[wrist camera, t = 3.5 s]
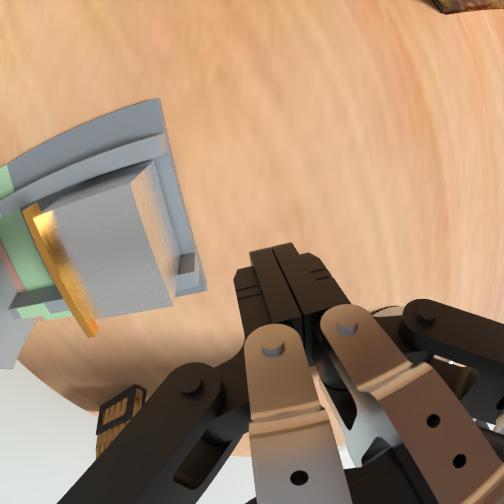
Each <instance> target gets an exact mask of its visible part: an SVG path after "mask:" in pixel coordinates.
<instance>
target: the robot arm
mask: <svg viewBox="0 0 504 504" xmlns="http://www.w3.org/2000/svg"><path fill="white" fill-rule="evenodd" d="M249 255H250V260H251V265H252V266H250V267H246V268H242V269H238V270H237V272H236V275H235V277H234V279H233V280H234V285H235V290H236V295H237V300H238V305H239V310H240V315H241V319H242V324H243V329H244V334H245V340H244V344H243V346H242V348H241V350H240V351H239V352H238V353H237V354H236V355H235V356H234V357H233V358H232V359H230V360H228V361H227V362H225V363H223V364H221V365H219V366H217V367H215V368H212V367H211V366H209V365H207V364H204V363H188V364H184V365H182V366H180V367H178V368H176V369H175V370H174V371H172V372H171V373H170V374H169V376H168V377H167V378H166V379H165V380H164V381H163V383H162V384H161V385H160V386H159V387H158V389H157V390H156V391H155V392H154V393H153V394H152V396H151V397H150V398H149V399H148V400H147V401H146V403H145V404H144V405H143V406H142V407H141V409H140V410H139V411H138V412H137V413H136V414H135V416H134V417H133V418H132V419H131V420H130V421H129V422H128V424H127V425H126V426H125V427H124V428H123V429H122V431H121V432H120V433H119V434H118V435H117V436H116V438H115V439H114V440H113V441H112V442H111V443H110V444H109V446H108V447H107V448H106V449H105V450H104V451H103V452H102V454H101V455H100V456H99V457H98V458H97V459H96V460H95V462H94V463H93V464H92V465H91V466H90V467H89V468H88V469H87V471H86V472H85V473H84V474H83V475H82V476H81V477H80V478H79V480H78V481H77V482H76V483H75V484H74V485H73V486H72V487H71V488H70V490H69V491H68V492H67V493H66V494H65V495H64V496H63V497H62V499H61V500H60V501H59V502H58V503H57V504H196V502H197V501H198V500H199V498H200V497H201V496H202V494H203V493H204V492H205V490H206V489H207V488H208V486H209V485H210V483H211V482H212V481H213V479H214V478H215V476H216V475H217V473H218V472H219V471H220V469H221V468H222V466H223V465H224V464H225V462H226V461H227V459H228V458H229V456H230V455H231V453H232V452H233V450H234V449H235V447H236V446H237V444H238V442H239V441H240V439H241V438H242V436H243V434H245V433H247V432H249V439H250V448H251V457H252V465H253V474H254V482H255V491H256V497H255V498H253V499H251V500H250V501H248V502H247V503H245V504H504V324H502V323H499V322H496V321H493V320H490V319H487V318H484V317H481V316H478V315H475V314H472V313H469V312H466V311H463V310H460V309H457V308H454V307H451V306H448V305H445V304H441V303H438V302H435V301H432V300H429V299H416V300H413V301H411V302H409V303H408V304H407V305H406V306H405V308H402V307H390V308H387V309H384V310H381V311H379V312H377V313H375V314H374V315H371V314H370V313H369V312H368V311H367V310H365V309H364V308H362V307H360V306H357V305H352V304H351V303H350V301H349V300H348V298H347V297H346V295H345V294H344V292H343V291H342V290H341V288H340V287H339V285H338V284H337V282H336V281H335V279H334V278H333V277H332V276H331V274H330V272H329V271H328V269H326V267H325V265H324V264H323V262H322V261H321V260H320V258H318V257H316V256H314V255H312V254H311V253H305V254H300V255H299V253H298V252H297V250H296V248H295V247H294V245H293V244H292V243H291V242H290V243H286V244H281V245H277V246H273V247H271V249H270V247H269V248H264V249H260V250H256V251H251V252H249ZM453 362H456V363H459V364H462V365H465V366H467V367H460V366H457V365H454V364H453ZM314 365H316V368H317V370H318V373H319V385H320V388H321V390H322V391H323V393H324V395H325V397H326V399H327V401H328V403H329V405H330V407H331V409H332V411H333V413H334V415H335V417H336V419H337V421H338V423H339V425H340V427H341V429H342V431H343V433H344V435H345V439H346V445H347V449H348V452H349V454H350V457H351V459H352V461H353V462H354V465H355V466H356V468H350V469H343V466H342V462H341V458H340V455H339V451H338V448H337V444H336V441H335V437H334V434H333V430H332V427H331V423H330V420H329V417H328V414H327V412H326V410H325V408H324V407H322V406H321V404H320V402H319V399H318V395H317V392H316V388H315V385H314V381H313V378H312V374H311V371H310V368H309V367H311V366H314ZM486 422H487V423H490V424H494V425H496V426H495V427H494V429H493V431H492V430H490V429H489V427H488V425H487V423H486Z"/></svg>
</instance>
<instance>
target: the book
mask: <svg viewBox="0 0 504 504" xmlns="http://www.w3.org/2000/svg"><path fill="white" fill-rule="evenodd" d="M432 2H433V3H434V4H435V5H436V6H437V8H438V9H439V10H440V11H441V13H443V14H445V15H448V14H454V13H461V12H468V11H477V10H489V9H504V0H432Z"/></svg>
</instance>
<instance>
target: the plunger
mask: <svg viewBox="0 0 504 504" xmlns="http://www.w3.org/2000/svg"><path fill="white" fill-rule="evenodd" d="M22 212H23V215H24V218H25V220H26V223H27V225H28V228H29V230H30V233H31V235H32V237H33V240H34V242H35V244H36V246H37V249H38V251H39V253H40V255H41V257H42V259H43V261H44V263H45V265H46V267H47V269H48V271H49V273H50V275H51V277H52V279H53V281H54V283H55V285H56V286H57V288H58V290H59V292H60V294H61V295H62V297H63V299H64V301H65V302H66V304H67V306H68V307H69V309H70V311H71V312H72V314H73V315H74V317H75V319H76V320H77V322H78V323H79V325H80V326H81V328H82V329H83V331H84V332H85V334H86V335H87V337H88V338H89V337H96V334H97V331H98V328H99V327H98V326H97V324H96V323H95V321H94V319H100V318H106V317H112V316H118V315H124V314H130V313H136V312H142V311H147V310H153V309H159V308H164V307H169V306H174V300H175V291H176V283H177V276H178V268H179V261H180V254H181V252H180V249H179V246H178V243H177V240H176V236H175V233H174V230H173V226H172V223H171V220H170V216H169V213H168V210H167V206H166V203H165V199H164V195H163V192H162V188H161V184H160V181H159V177H158V173H157V169H156V165H155V161H154V160H152V161H149V162H145V163H142V164H138V165H135V166H132V167H129V168H125V169H122V170H119V171H116V172H113V173H110V174H107V175H104V176H101V177H99V178H96V179H93V180H90V181H87V182H85V183H82V184H79V185H77V186H76V187H74V188H73V189H71V190H70V191H69V192H67V193H66V194H64V195H63V196H62V197H60V198H59V199H58V200H56V201H55V202H54V203H52V204H51V205H50V206H49V207H47V208H46V209H45V210H43V211H42V212H41V211H40V208H39V205H38V203H35V204H33V205H30V206H29V207H28V208H26V209H25V210H23V211H22Z"/></svg>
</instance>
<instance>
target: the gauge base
mask: <svg viewBox="0 0 504 504" xmlns="http://www.w3.org/2000/svg"><path fill="white" fill-rule="evenodd" d="M152 160H154V161H155V165H156V169H157V173H158V177H159V181H160V184H161V188H162V192H163V195H164V199H165V203H166V206H167V210H168V213H169V216H170V220H171V223H172V226H173V230H174V233H175V236H176V240H177V243H178V246H179V249H180V252H181V254H180V261H179V268H178V276H177V283H176V291H175V297H178V296H183V295H188V294H193V293H198V292H203V291H207V282H206V278H205V275H204V272H203V268H202V265H201V262H200V258H199V255H198V251H197V248H196V244H195V241H194V237H193V234H192V230H191V227H190V223H189V219H188V216H187V212H186V208H185V204H184V201H183V197H182V193H181V189H180V185H179V181H178V177H177V173H176V169H175V165H174V160H173V156H172V152H171V148H170V143H169V139H168V134H167V130H166V125H165V120H164V116H163V111H162V106H161V101H160V99H159V98H155V99H152V100H148V101H145V102H142V103H139V104H136V105H132V106H129V107H127V108H124V109H121V110H118V111H115V112H112V113H110V114H107V115H104V116H102V117H99V118H97V119H94V120H92V121H89V122H87V123H85V124H82V125H80V126H78V127H76V128H73V129H71V130H69V131H67V132H65V133H63V134H61V135H58V136H56V137H54V138H52V139H50V140H48V141H47V142H45V143H43V144H41V145H39V146H37V147H35V148H33V149H32V150H30V151H28V152H26V153H25V154H23V155H21V156H20V157H18V158H16V159H15V160H13V161H11V162H10V163H8V164H6V165H5V166H3V167H2V168H0V369H13V367H14V364H15V362H16V360H17V358H18V356H19V354H20V352H21V350H22V348H23V346H24V344H25V342H26V340H27V338H28V336H29V334H30V332H31V330H32V328H33V326H34V325H35V323H36V321H44V320H50V319H57V318H63V317H70V316H73V314H72V312H71V311H70V309H69V307H68V306H67V304H66V302H65V301H64V299H63V297H62V295H61V294H60V292H59V290H58V288H57V286H56V285H55V283H54V281H53V279H52V277H51V275H50V273H49V271H48V269H47V267H46V265H45V263H44V261H43V259H42V257H41V255H40V253H39V251H38V249H37V246H36V244H35V242H34V240H33V237H32V235H31V233H30V230H29V228H28V225H27V223H26V220H25V218H24V215H23V212H22V211H23V210H25V209H26V208H28V207H29V206H30V205H33V204H35V203H38V205H39V208H40V211H41V212H42V211H43V210H45V209H46V208H47V207H49V206H50V205H51V204H52V203H54V202H55V201H56V200H58V199H59V198H60V197H62V196H63V195H64V194H66V193H67V192H69V191H70V190H71V189H73V188H74V187H76V186H77V185H79V184H82V183H85V182H87V181H90V180H93V179H96V178H99V177H101V176H104V175H107V174H110V173H113V172H116V171H119V170H122V169H125V168H129V167H132V166H135V165H138V164H142V163H145V162H149V161H152Z"/></svg>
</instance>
